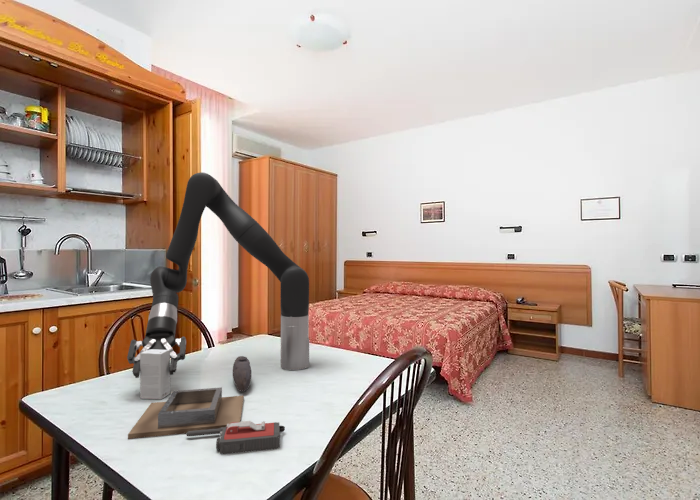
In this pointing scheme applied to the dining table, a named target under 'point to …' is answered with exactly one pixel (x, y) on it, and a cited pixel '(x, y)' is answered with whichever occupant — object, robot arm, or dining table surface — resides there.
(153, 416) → the board
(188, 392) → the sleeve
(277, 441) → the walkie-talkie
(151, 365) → the skincare box
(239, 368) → the perforated stone tool
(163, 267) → the robot arm
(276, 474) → the dining table surface
